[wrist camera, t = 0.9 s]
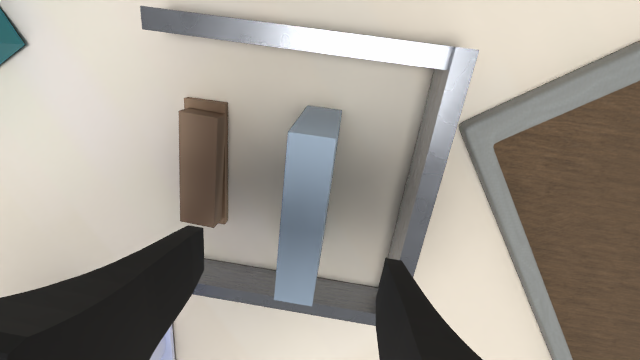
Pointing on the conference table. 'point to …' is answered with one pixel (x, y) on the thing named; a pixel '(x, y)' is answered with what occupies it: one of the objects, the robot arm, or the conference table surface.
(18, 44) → the teal l-shaped bracket
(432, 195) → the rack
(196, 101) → the block
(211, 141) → the offcut top
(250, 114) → the conference table surface
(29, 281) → the conference table surface
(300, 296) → the panel
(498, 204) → the picture frame
